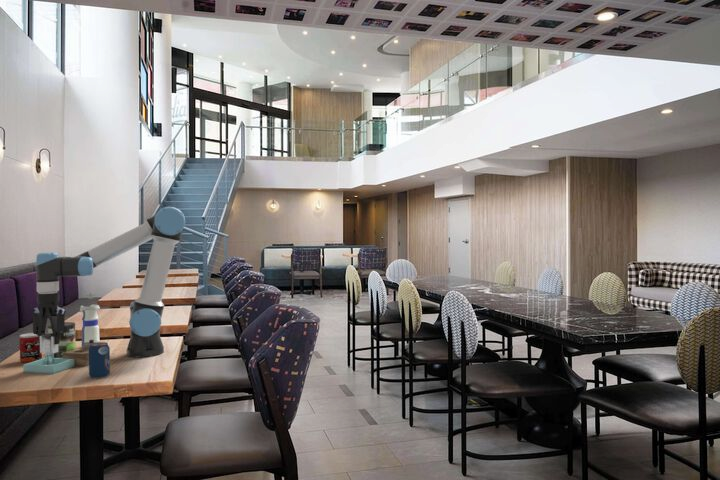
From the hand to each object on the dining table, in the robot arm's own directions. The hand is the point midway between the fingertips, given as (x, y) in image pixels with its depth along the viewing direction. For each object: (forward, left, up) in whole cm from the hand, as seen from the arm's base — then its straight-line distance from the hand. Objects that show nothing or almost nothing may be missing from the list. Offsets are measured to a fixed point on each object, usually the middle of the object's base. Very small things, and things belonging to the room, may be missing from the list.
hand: (49, 352), depth 203 cm
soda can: (-26, +6, -7) cm, 28 cm away
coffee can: (+10, -19, -7) cm, 23 cm away
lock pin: (0, 0, -5) cm, 5 cm away
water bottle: (+11, -38, -7) cm, 40 cm away
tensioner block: (-6, -13, -7) cm, 16 cm away
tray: (0, 0, -7) cm, 7 cm away
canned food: (+18, -11, -7) cm, 22 cm away
